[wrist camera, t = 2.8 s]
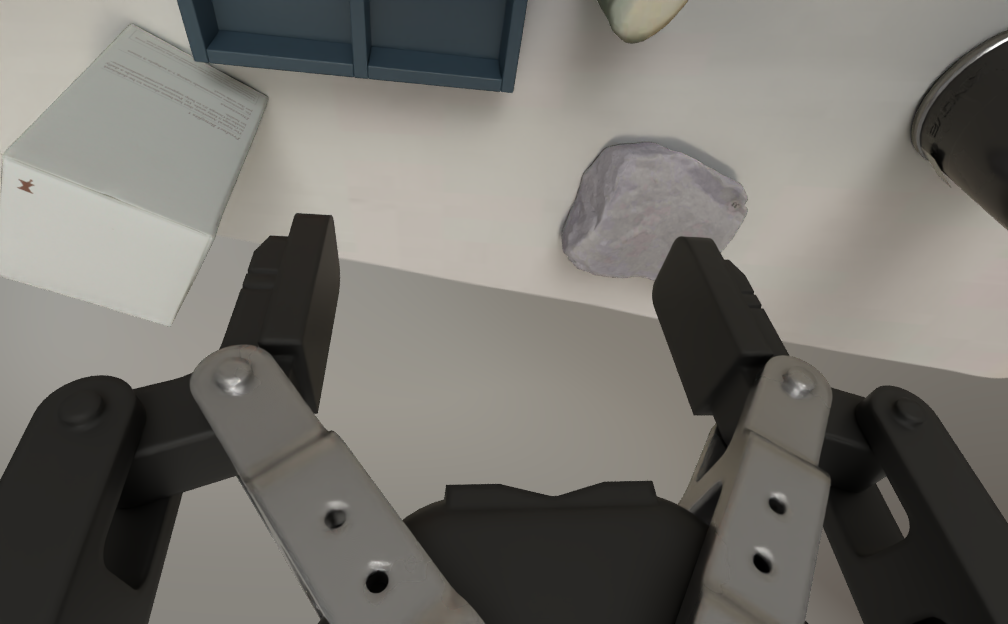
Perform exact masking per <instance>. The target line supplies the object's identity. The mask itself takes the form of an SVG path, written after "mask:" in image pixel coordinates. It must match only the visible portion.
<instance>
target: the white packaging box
mask: <svg viewBox="0 0 1008 624" xmlns="http://www.w3.org/2000/svg"><path fill="white" fill-rule="evenodd" d="M267 101H268V97H266V96H265V95H263V94H261V93H259V92H257V91H255V90H254V89H252V88H250V87H248V86H246V85H245V84H243V83H241V82H239V81H237V80H235V79H233V78H232V77H230V76H228V75H226V74H224V73H222V72H220V71H218V70H217V69H215V68H213V67H211V66H209V65H207V64H206V63H204V62H195V61H194V58H193V56H191V55H189V54H187V53H185V52H183V51H181V50H180V49H178V48H176V47H174V46H172V45H170V44H168V43H167V42H165V41H163V40H161V39H159V38H157V37H155V36H154V35H152V34H150V33H148V32H146V31H144V30H143V29H141V28H139V27H137V26H135V25H133V24H130V25H129V26H128V27H127V28H126V29H125V30H124V31H123V32H122V33H121V34H120V35H119V36H118V37H117V38H116V39H115V40H114V41H113V42H112V43H111V44H110V45H109V46H108V47H107V48H106V49H105V50H104V51H103V52H102V53H101V54H100V55H99V56H98V57H97V58H96V59H95V60H94V62H93V63H92V64H91V65H90V66H89V67H88V68H87V69H86V70H85V71H84V72H83V73H82V74H81V75H80V76H79V77H78V78H77V79H76V80H75V81H74V82H73V83H72V84H71V85H70V86H69V87H68V88H67V89H66V90H65V91H64V92H63V93H62V94H61V95H60V96H59V97H58V98H57V99H56V100H55V101H54V102H53V103H52V104H51V105H50V106H49V107H48V108H47V109H46V110H45V111H44V112H43V113H42V114H41V115H40V116H39V117H38V118H37V119H36V121H35V122H34V123H33V124H32V125H31V126H30V127H29V128H28V129H27V130H26V131H25V132H24V133H23V134H22V135H21V136H20V137H19V138H18V139H17V140H16V141H15V142H14V143H13V144H12V145H11V146H10V147H9V148H8V149H7V150H6V151H5V152H4V153H3V154H2V171H1V190H0V277H4V278H7V279H10V280H14V281H17V282H21V283H24V284H28V285H31V286H34V287H38V288H41V289H45V290H48V291H52V292H55V293H58V294H62V295H65V296H68V297H72V298H75V299H78V300H82V301H85V302H89V303H92V304H95V305H98V306H102V307H105V308H108V309H112V310H115V311H119V312H122V313H125V314H129V315H132V316H135V317H139V318H142V319H145V320H148V321H151V322H155V323H158V324H161V325H165V326H168V327H171V325H172V323H173V321H174V319H175V317H176V315H177V313H178V311H179V309H180V307H181V306H182V303H183V302H184V299H185V297H186V296H187V294H188V292H189V290H190V288H191V286H192V284H193V282H194V280H195V278H196V276H197V274H198V272H199V270H200V268H201V266H202V264H203V262H204V260H205V257H206V256H207V254H208V251H209V250H210V247H211V246H212V243H213V241H214V239H215V237H216V233H217V230H218V227H219V223H220V221H221V218H222V215H223V213H224V210H225V208H226V206H227V203H228V201H229V198H230V196H231V193H232V191H233V188H234V186H235V183H236V182H237V178H238V176H239V174H240V171H241V169H242V166H243V164H244V161H245V159H246V156H247V154H248V151H249V149H250V147H251V144H252V142H253V139H254V137H255V134H256V132H257V129H258V126H259V123H260V121H261V118H262V116H263V113H264V111H265V108H266V105H267Z"/></svg>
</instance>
